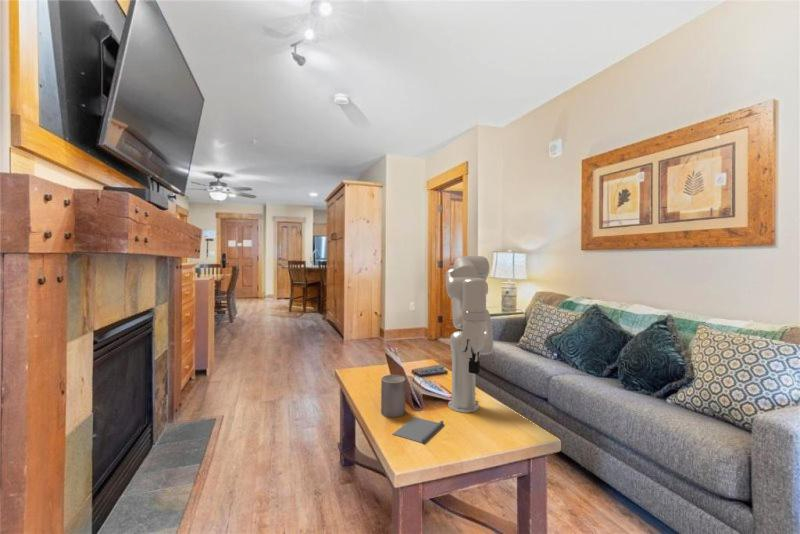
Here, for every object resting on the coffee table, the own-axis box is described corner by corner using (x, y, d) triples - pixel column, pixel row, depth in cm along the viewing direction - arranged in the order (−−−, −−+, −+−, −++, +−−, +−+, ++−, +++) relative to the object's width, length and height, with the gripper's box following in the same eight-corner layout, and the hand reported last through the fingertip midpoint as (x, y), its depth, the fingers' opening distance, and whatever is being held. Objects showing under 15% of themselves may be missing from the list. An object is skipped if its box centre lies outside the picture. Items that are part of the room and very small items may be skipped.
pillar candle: (388, 406, 147) (388, 370, 147) (409, 410, 143) (409, 373, 143) (376, 415, 139) (376, 376, 139) (398, 419, 134) (398, 380, 134)
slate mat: (414, 417, 136) (414, 413, 136) (444, 425, 130) (444, 421, 130) (392, 435, 122) (392, 430, 122) (424, 444, 116) (424, 439, 116)
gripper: (470, 313, 124) (470, 365, 124) (454, 318, 111) (454, 377, 111) (492, 314, 120) (492, 368, 120) (478, 320, 107) (478, 381, 107)
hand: (474, 372), depth 115 cm, fingers closed
